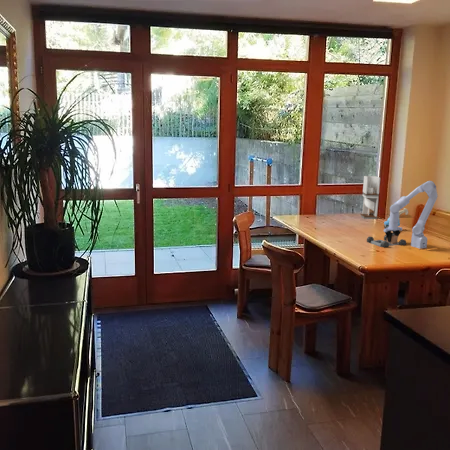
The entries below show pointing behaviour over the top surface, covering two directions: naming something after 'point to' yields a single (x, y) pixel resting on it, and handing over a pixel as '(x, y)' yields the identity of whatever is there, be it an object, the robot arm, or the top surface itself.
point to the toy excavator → (398, 220)
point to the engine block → (393, 239)
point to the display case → (370, 197)
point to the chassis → (384, 242)
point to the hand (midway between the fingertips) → (391, 241)
